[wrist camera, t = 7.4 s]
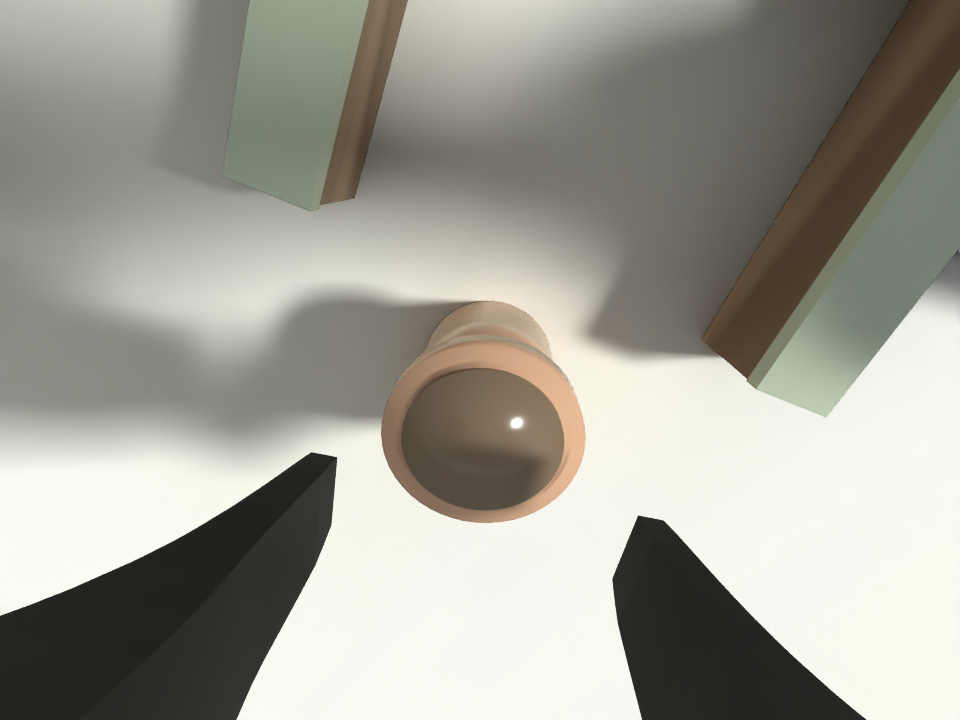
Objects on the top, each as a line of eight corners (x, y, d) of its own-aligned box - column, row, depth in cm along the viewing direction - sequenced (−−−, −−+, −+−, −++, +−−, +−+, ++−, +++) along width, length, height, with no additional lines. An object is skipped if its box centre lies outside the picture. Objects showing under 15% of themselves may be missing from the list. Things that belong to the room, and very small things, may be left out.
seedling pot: (578, 307, 18) (613, 373, 12) (541, 435, 20) (556, 541, 14) (428, 277, 18) (392, 329, 12) (408, 409, 20) (369, 506, 14)
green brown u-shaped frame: (1040, -70, 13) (1298, -185, 9) (751, 359, 18) (826, 417, 14) (420, -405, 11) (369, -748, 7) (294, 174, 17) (221, 175, 12)
